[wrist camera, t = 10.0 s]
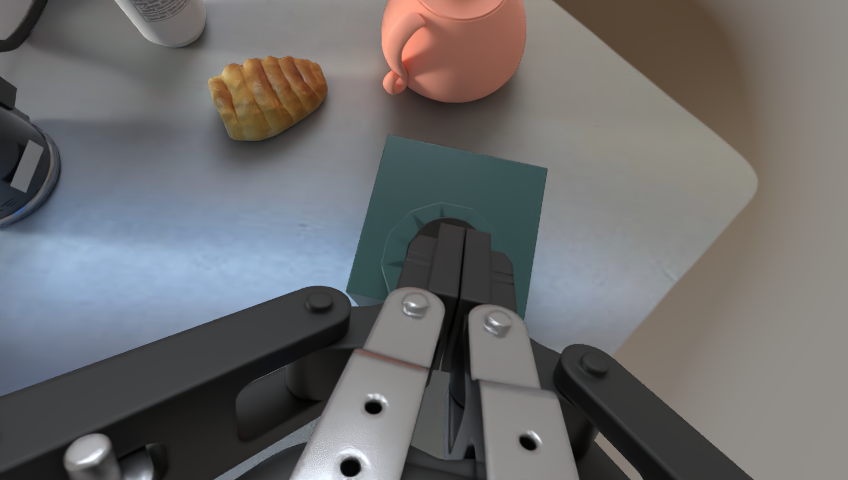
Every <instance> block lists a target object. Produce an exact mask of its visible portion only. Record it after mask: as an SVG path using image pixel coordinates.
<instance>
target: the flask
mask: <svg viewBox="0 0 848 480" xmlns="http://www.w3.org/2000/svg"><path fill="white" fill-rule="evenodd" d="M546 175H547V168H543V167H538V166H534V165H529V164H524V163H519V162H515V161H510V160H505V159H501V158H496V157H491V156H487V155H482V154H477V153H473V152H468V151H463V150H459V149H454V148H449V147H445V146H440V145H435V144H431V143H426V142H421V141H417V140H412V139H407V138H403V137H398V136H393V135H388V136H387V140H386V144H385V148H384V151H383V155H382V159H381V162H380V166H379V170H378V173H377V177H376V181H375V185H374V188H373V192H372V196H371V199H370V203H369V207H368V211H367V214H366V218H365V222H364V225H363V229H362V233H361V236H360V240H359V244H358V248H357V251H356V255H355V259H354V262H353V266H352V270H351V273H350V277H349V281H348V285H347V288H346V292H347V293H348V295H349V296H350V297H351V298H352V299H353V300H354V301H355V302H356V303H357V304H358V305H359V306H374V305H378V304H381V303H383V302H385V300H386V298H387V297H388V295H389V294H390V293H391V292H393V291H394V290H395V289H396V286H397V283H398V280H399V276H400V273H401V270H402V267H403V264H404V261H405V258H406V255H407V251H408V248H409V245H410V242H411V241H412V240H413V239H414V237H415V235H416V233H417V232H418V231H419V229H420V228H421V227H422V226H423V225H425V224H426V223H427V222H429V221H431V220H433V219H436V218H440V217H455V218H459V219H462V220H464V221H466V222H468V223H469V224H471V225H472V226H473V227H474V228H475V229H476V230H477V231H482V232H486V233H491V250H493V251H497V252H502V253H505V254H506V255H507V257H508V258H509V260H510V261H511V262H512V264H513V273H514V276H513V277H514V283H515V284H514V286H515V294H516V305H517V315H518V316H519V317H520V318H521V319H522V320H523V321H524V317H525V310H526V304H527V298H528V291H529V285H530V278H531V272H532V265H533V259H534V253H535V246H536V240H537V233H538V227H539V220H540V214H541V208H542V201H543V195H544V188H545V182H546Z"/></svg>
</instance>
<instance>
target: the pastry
mask: <svg viewBox="0 0 848 480" xmlns="http://www.w3.org/2000/svg"><path fill="white" fill-rule="evenodd" d="M208 85H209V88H210V93H211V95H212V100H213V102H214V104H215V106H216V107H217V108H218V111H219V115H220V116H221V118H222V120H223V123H224V125H225V128H226V131H227V133H228V136H229V137H230V138H232V139H234V140H241V141H261V140H263V139H266V138H269V137H272V136H276V135H278V134H279V133H281V132H282V131H285V130H286V129H288V128H289V127H291V126H293V125H295V124H296V123H297V122H299V121H300V120H302V119H304V118H305V117H307V116H308V115H310V114H311V113H312V112H313V111H315V110H316V109H317V108H318V107H319V105H320V104H321V103H322V101H323V100H324V99H325V97H326V95H327V91H328V86H327V83H326V80H325V78H324V76H323V73H322V70H321V67H320V66H319V64H317V63H313V62H311V61H309V60H304V59H296V58H293V57H291V56H287V57H284V58H280V59H279V58H275V57H272V56H268V57H266V58H265V59H262V60H261V59H257V58H255V59H247V60H246V61H245V62H244V64H243V65H238V64H235V63H233V64H230V65H227V66H226V67H225V69H224V71H223V73H222V74H221V75H218V76H216V77H214V78H210V79H209V81H208Z"/></svg>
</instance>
